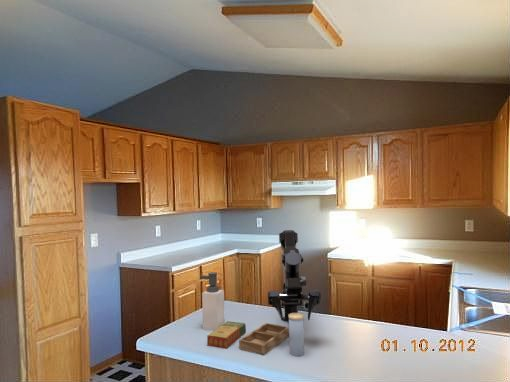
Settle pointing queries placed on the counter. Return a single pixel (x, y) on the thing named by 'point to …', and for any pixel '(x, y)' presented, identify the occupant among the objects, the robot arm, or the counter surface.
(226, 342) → the carton
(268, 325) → the caddy
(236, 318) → the counter surface
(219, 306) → the soap dispenser
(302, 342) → the jar
